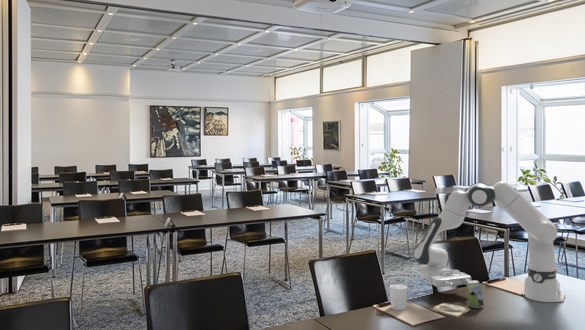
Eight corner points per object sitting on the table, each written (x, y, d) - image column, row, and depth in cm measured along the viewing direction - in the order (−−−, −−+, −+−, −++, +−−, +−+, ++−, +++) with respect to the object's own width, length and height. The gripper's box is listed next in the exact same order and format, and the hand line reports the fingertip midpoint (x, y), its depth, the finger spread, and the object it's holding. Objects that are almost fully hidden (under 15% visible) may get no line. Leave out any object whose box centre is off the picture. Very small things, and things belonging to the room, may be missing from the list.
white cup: (408, 306, 222) (408, 285, 222) (405, 311, 215) (405, 289, 215) (391, 304, 225) (391, 283, 225) (387, 309, 218) (387, 287, 218)
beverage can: (484, 309, 217) (484, 283, 217) (467, 308, 218) (467, 282, 218) (482, 305, 223) (482, 279, 223) (465, 304, 225) (465, 278, 224)
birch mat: (444, 303, 226) (444, 302, 226) (470, 310, 216) (470, 308, 216) (430, 310, 216) (430, 309, 216) (457, 317, 207) (457, 315, 207)
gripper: (425, 273, 240) (442, 279, 227) (460, 269, 246) (478, 275, 233) (426, 285, 240) (443, 293, 227) (460, 281, 246) (478, 288, 233)
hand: (461, 284), depth 230 cm, fingers open, 8 cm apart
